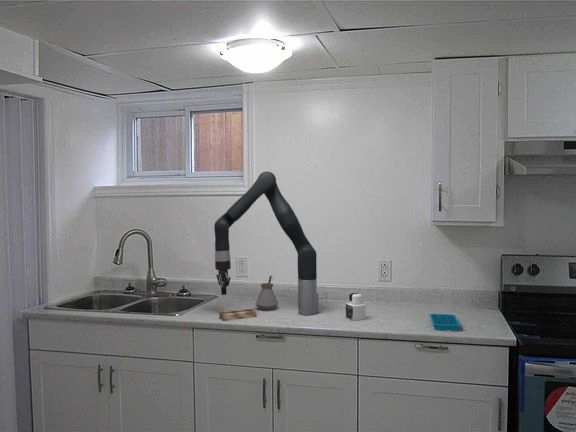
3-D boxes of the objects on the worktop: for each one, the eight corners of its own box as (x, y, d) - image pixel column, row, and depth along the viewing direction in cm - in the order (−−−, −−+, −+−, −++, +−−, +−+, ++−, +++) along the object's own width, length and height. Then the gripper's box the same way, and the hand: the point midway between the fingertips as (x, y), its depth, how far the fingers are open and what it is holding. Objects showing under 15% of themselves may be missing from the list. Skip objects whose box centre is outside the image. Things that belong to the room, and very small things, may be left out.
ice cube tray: (432, 331, 227) (432, 324, 227) (429, 319, 247) (429, 313, 247) (460, 332, 225) (460, 325, 225) (454, 320, 245) (454, 314, 245)
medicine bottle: (345, 317, 251) (345, 292, 250) (358, 316, 254) (358, 291, 253) (352, 321, 244) (352, 295, 244) (366, 319, 247) (366, 294, 246)
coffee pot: (276, 311, 264) (276, 282, 263) (254, 311, 266) (253, 281, 265) (281, 302, 285) (281, 275, 285) (261, 302, 287) (260, 275, 286)
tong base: (255, 315, 257) (255, 308, 257) (258, 316, 254) (258, 309, 254) (221, 319, 248) (221, 312, 248) (223, 321, 245) (223, 314, 245)
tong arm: (252, 314, 258) (252, 308, 258) (254, 314, 256) (254, 309, 256) (219, 317, 251) (219, 311, 251) (220, 318, 249) (220, 312, 249)
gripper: (235, 260, 253) (236, 295, 254) (224, 257, 265) (225, 291, 266) (220, 261, 250) (222, 297, 250) (210, 259, 261) (211, 293, 262)
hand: (223, 294), depth 258 cm, fingers closed
